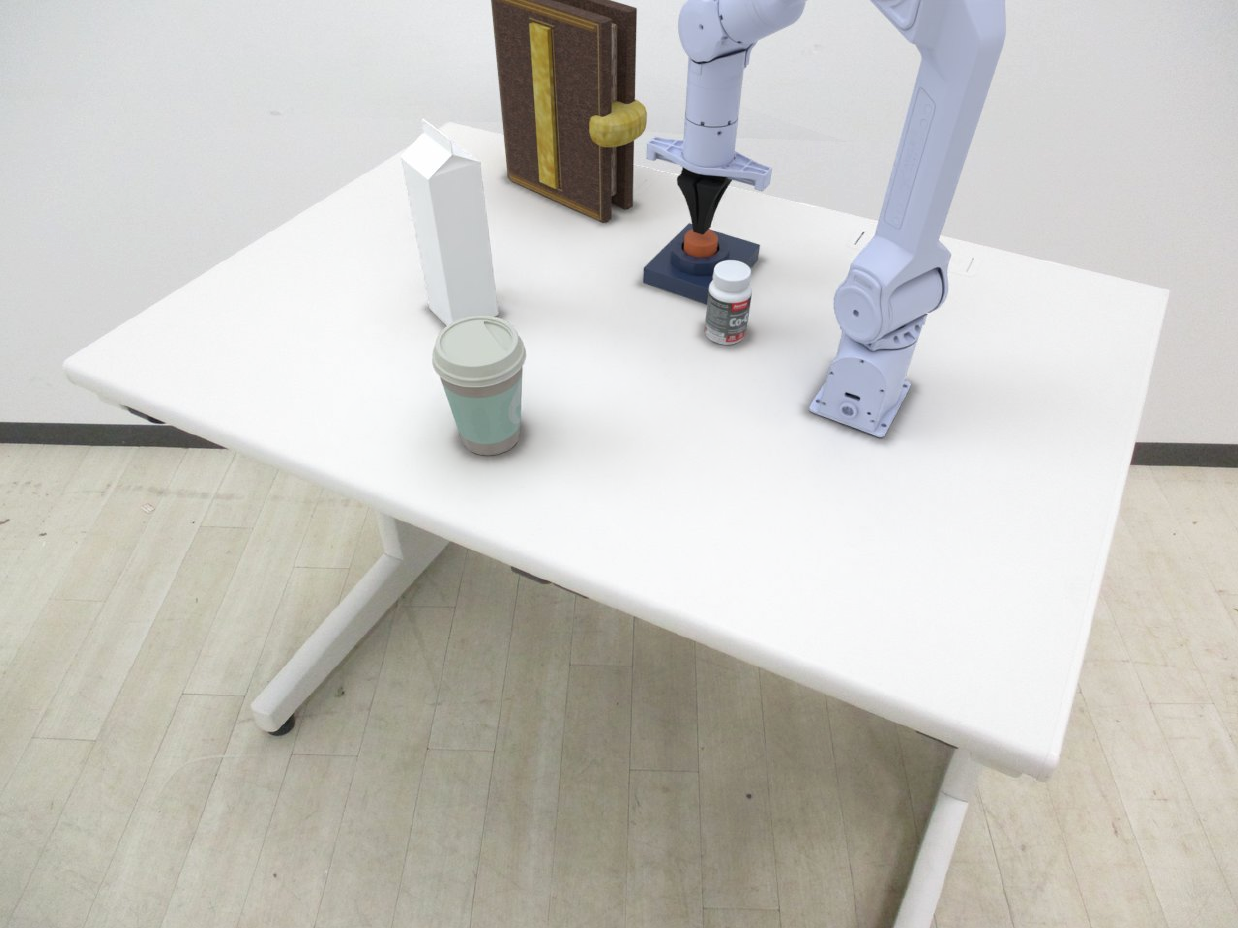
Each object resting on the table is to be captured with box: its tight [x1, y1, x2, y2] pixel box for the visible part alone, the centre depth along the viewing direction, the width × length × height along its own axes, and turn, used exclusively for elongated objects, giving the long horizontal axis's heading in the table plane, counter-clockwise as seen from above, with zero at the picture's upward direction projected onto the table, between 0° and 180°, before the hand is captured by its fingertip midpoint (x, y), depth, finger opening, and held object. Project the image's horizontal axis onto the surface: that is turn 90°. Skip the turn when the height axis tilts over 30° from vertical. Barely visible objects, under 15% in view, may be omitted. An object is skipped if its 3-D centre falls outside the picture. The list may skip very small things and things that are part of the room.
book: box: [490, 0, 648, 224], centre depth 109 cm, size 22×8×25 cm, turn 50°
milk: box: [400, 118, 500, 327], centre depth 91 cm, size 6×6×22 cm
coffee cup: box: [431, 316, 527, 456], centre depth 80 cm, size 9×8×12 cm
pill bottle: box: [704, 260, 753, 346], centre depth 93 cm, size 5×5×8 cm
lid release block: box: [642, 222, 761, 305], centre depth 104 cm, size 12×10×4 cm
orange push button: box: [684, 229, 718, 257], centre depth 101 cm, size 4×4×2 cm
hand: (701, 229), depth 100 cm, fingers closed
